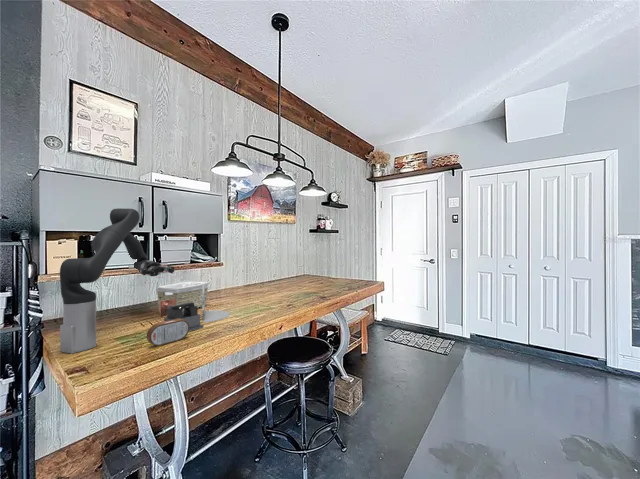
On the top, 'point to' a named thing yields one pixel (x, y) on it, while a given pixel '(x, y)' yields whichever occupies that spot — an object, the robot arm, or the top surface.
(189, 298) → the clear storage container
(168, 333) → the tin
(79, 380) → the top surface
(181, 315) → the block
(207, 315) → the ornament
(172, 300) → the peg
